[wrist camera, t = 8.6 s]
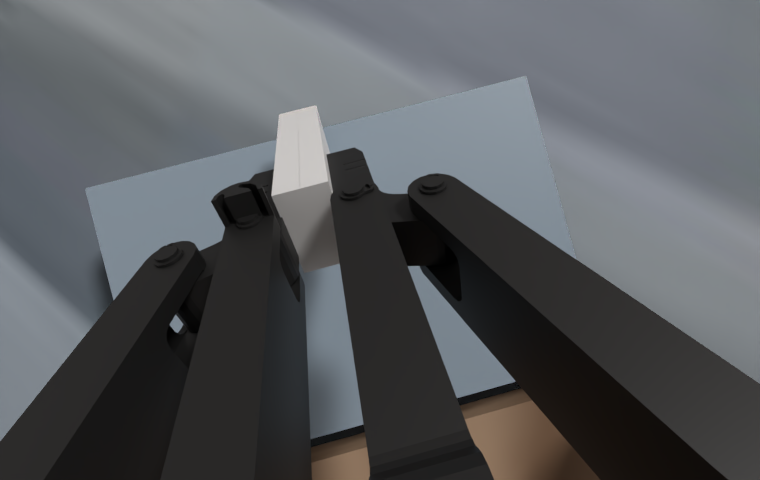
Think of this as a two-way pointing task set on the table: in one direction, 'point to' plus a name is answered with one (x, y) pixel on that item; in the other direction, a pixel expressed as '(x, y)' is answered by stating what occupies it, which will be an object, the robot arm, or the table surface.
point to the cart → (479, 445)
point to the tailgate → (392, 175)
